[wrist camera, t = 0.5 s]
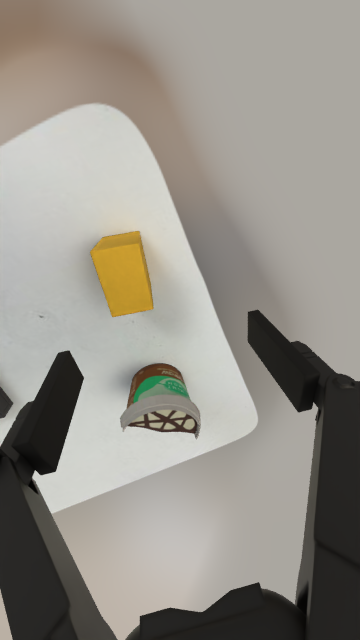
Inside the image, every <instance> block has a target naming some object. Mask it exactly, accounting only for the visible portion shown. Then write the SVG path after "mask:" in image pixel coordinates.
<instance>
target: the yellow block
mask: <svg viewBox="0 0 360 640" xmlns="http://www.w3.org/2000/svg"><path fill="white" fill-rule="evenodd" d="M90 254H91V257H92V259H93V262H94V265H95V268H96V271H97V274H98V277H99V280H100V283H101V286H102V289H103V291H104V294H105V297H106V300H107V303H108V306H109V309H110V312H111V315H112V317H116V316H121V315H126V314H132V313H137V312H142V311H147V310H152V309H153V299H152V290H151V282H150V278H149V273H148V269H147V264H146V259H145V255H144V250H143V246H142V241H141V237H140V232H139V231H136V232H130V233H124V234H118V235H113V236H107V237H103V238H102V239H101V240H100V241H99V242H98V243H97V245H96V246H95V247H94V248H93V249H92V250H91V251H90Z"/></svg>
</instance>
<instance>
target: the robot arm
mask: <svg viewBox="0 0 360 640" xmlns="http://www.w3.org/2000/svg"><path fill="white" fill-rule="evenodd" d="M248 343H249V344H250V345H251V347H252V348H253V350H254V351H255V352H256V354H257V355H258V357H259V358H260V359H261V361H262V362H263V364H264V365H265V366H266V368H267V369H268V371H269V372H270V373H271V375H272V376H273V378H274V379H275V380H276V382H277V383H278V385H279V386H280V387H281V389H282V390H283V392H284V393H285V394H286V396H287V397H288V398H289V400H290V402H291V403H292V404H293V406H294V407H295V409H296V410H297V411H298V412H302V411H306V410H310V409H312V406H313V402H314V403H315V404H316V406H317V407H318V412H317V415H316V419H315V420H316V430H315V439H314V449H313V458H312V467H311V476H310V486H309V495H308V504H307V513H306V523H305V532H304V541H303V551H302V559H301V565H300V570H299V576H298V583H297V591H296V600H295V605H294V604H293V603H292V602H291V601H289V600H288V599H286V598H285V597H284V596H282V595H280V594H278V593H276V592H273V591H270V590H267V589H261V587H260V584H259V582H258V583H255V584H251V585H248V586H245V587H241V588H237V589H234V590H231V591H229V592H228V593H227V594H226V595H224V596H223V597H222V598H220V599H219V600H218V601H217V602H215V603H214V604H213V605H212V606H210V607H209V608H208V609H207V610H205V611H203V612H194V611H188V610H181V609H175V608H167V609H164V610H160V611H157V612H153V613H150V614H146V615H142V616H140V625H139V626H137V627H136V628H135V629H134V630H133V631H132V632H131V633H130V634H129V635H128V637H127V638H126V640H360V381H355V380H354V379H352V378H351V377H349V376H346V375H343V374H337V373H336V372H334V370H333V369H331V368H330V367H329V366H328V365H327V364H326V363H325V362H324V361H323V360H322V359H321V358H320V357H319V356H317V355H316V354H315V353H314V352H312V350H311V349H310V348H309V347H308V346H307V345H305V344H303V343H301V342H299V341H295V342H291V343H290V342H289V341H288V340H287V339H286V338H285V337H284V336H283V335H282V334H281V333H280V332H279V331H278V330H277V328H275V326H274V325H273V324H272V323H271V322H269V321H268V319H267V318H266V317H265V316H264V315H263V314H262V313H260V311H259V310H255V311H250V312H248ZM83 380H84V377H83V375H82V373H81V371H80V370H79V368H78V366H77V364H76V362H75V360H74V358H73V357H72V355H71V353H70V351H64V352H60V353H58V354H57V356H56V358H55V360H54V362H53V364H52V366H51V368H50V370H49V372H48V374H47V376H46V378H45V380H44V382H43V384H42V386H41V388H40V390H39V392H38V394H37V396H36V398H35V400H34V401H32V402H28V403H27V404H26V405H25V406H24V407H23V408H22V409H21V410H20V412H19V414H18V415H17V417H16V421H14V423H13V425H12V428H10V430H9V432H8V434H7V436H6V437H5V439H4V441H3V443H2V445H1V447H0V589H1V593H2V598H3V602H4V606H5V610H6V614H7V618H8V622H9V626H10V630H11V634H12V638H13V640H117V638H116V636H115V635H114V633H113V631H112V630H111V628H110V627H109V625H108V624H107V623H106V622H105V621H104V619H103V617H102V616H101V614H100V612H99V610H98V608H97V606H96V604H95V602H94V600H93V598H92V596H91V594H90V592H89V590H88V588H87V586H86V584H85V582H84V580H83V578H82V576H81V574H80V572H79V570H78V568H77V566H76V564H75V562H74V560H73V557H72V555H71V554H70V551H69V549H68V547H67V545H66V543H65V541H64V539H63V537H62V535H61V533H60V531H59V529H58V527H57V525H56V523H55V521H54V519H53V517H52V515H51V513H50V511H49V509H48V507H47V505H46V502H45V500H44V498H43V496H42V494H41V492H40V490H39V488H38V486H37V484H36V482H35V481H34V480H33V479H32V476H33V474H34V471H35V470H36V471H37V472H38V473H39V474H40V475H44V474H48V473H52V472H56V469H57V466H58V463H59V459H60V456H61V453H62V449H63V446H64V443H65V439H66V436H67V433H68V429H69V426H70V423H71V419H72V416H73V413H74V409H75V406H76V403H77V399H78V396H79V393H80V390H81V386H82V383H83Z"/></svg>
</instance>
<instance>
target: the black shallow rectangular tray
mask: <svg viewBox="0 0 360 640" xmlns="http://www.w3.org/2000/svg"><path fill="white" fill-rule="evenodd" d="M12 405H13V402H12V401H11V400H10V399H9V397H8V396H7V395H6V393H5V392H4V391H3V390H2V388H1V387H0V418H4V417H5V416H6V414H7V413H8V411H9V410H10V408H11V406H12Z"/></svg>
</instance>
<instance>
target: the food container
mask: <svg viewBox="0 0 360 640" xmlns="http://www.w3.org/2000/svg"><path fill="white" fill-rule="evenodd" d="M120 422H121V427H123V432H124V430H125V428H126V427H127V426H130V427H142V428H147V429H151V430H155V431H159V432H187V433H194V435H195V438H196V440H197V438H198V436H199V432H200V425H201V424H200V412H199V410H198V408H197V406H196V405H195V404H194V403H193V402H192V401H191V400H190V397H189V394H188V392H187V389H186V386H185V383H184V381H183V378H182V375H181V373H180V372H179V371H178V370H177V369H176V368H175V367H173V366H171V365H168V364H159V363H158V364H152V365H149V366H146V367H144V368H142V369H141V370H139V371H138V372H137V373H136V374H135V376H134V377H133V379H132V383H131V389H130V394H129V399H128V404H127V409H126V410H125V412H124V413H123V414H122V416H121V418H120Z"/></svg>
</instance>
